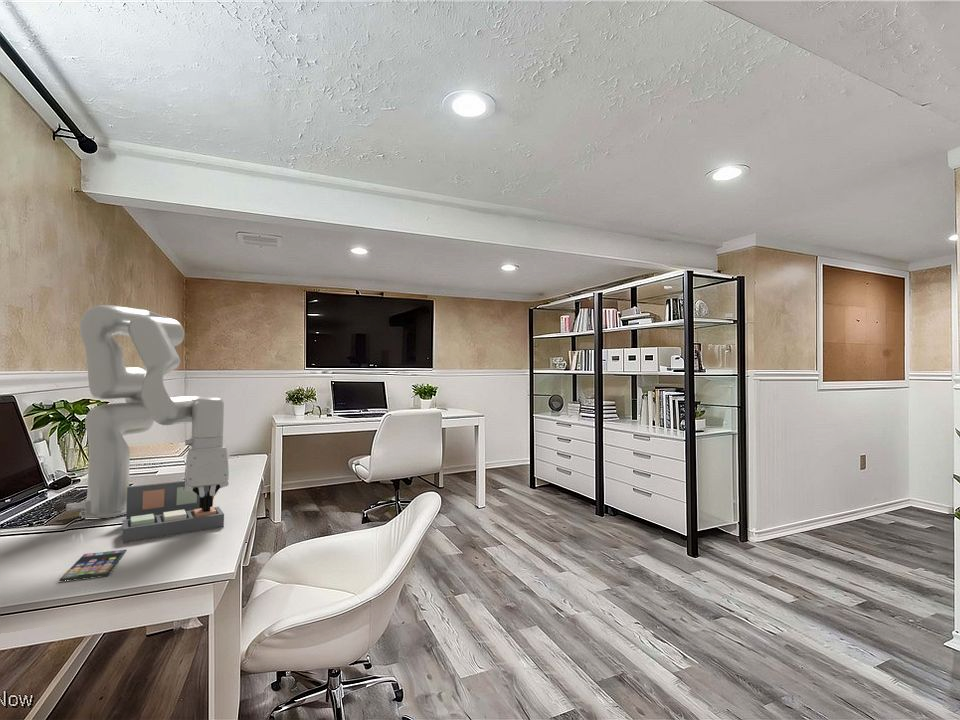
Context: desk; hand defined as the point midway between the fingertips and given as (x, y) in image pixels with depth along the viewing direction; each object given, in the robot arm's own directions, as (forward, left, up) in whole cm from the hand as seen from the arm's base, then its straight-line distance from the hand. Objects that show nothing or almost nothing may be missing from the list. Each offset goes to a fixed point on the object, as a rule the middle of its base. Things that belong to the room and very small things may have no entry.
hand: (205, 510), depth 132 cm
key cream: (-7, 0, -2) cm, 8 cm away
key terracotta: (0, 0, -3) cm, 3 cm away
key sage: (-14, 0, -2) cm, 14 cm away
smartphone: (-23, -16, -5) cm, 28 cm away
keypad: (-7, +5, -4) cm, 10 cm away
